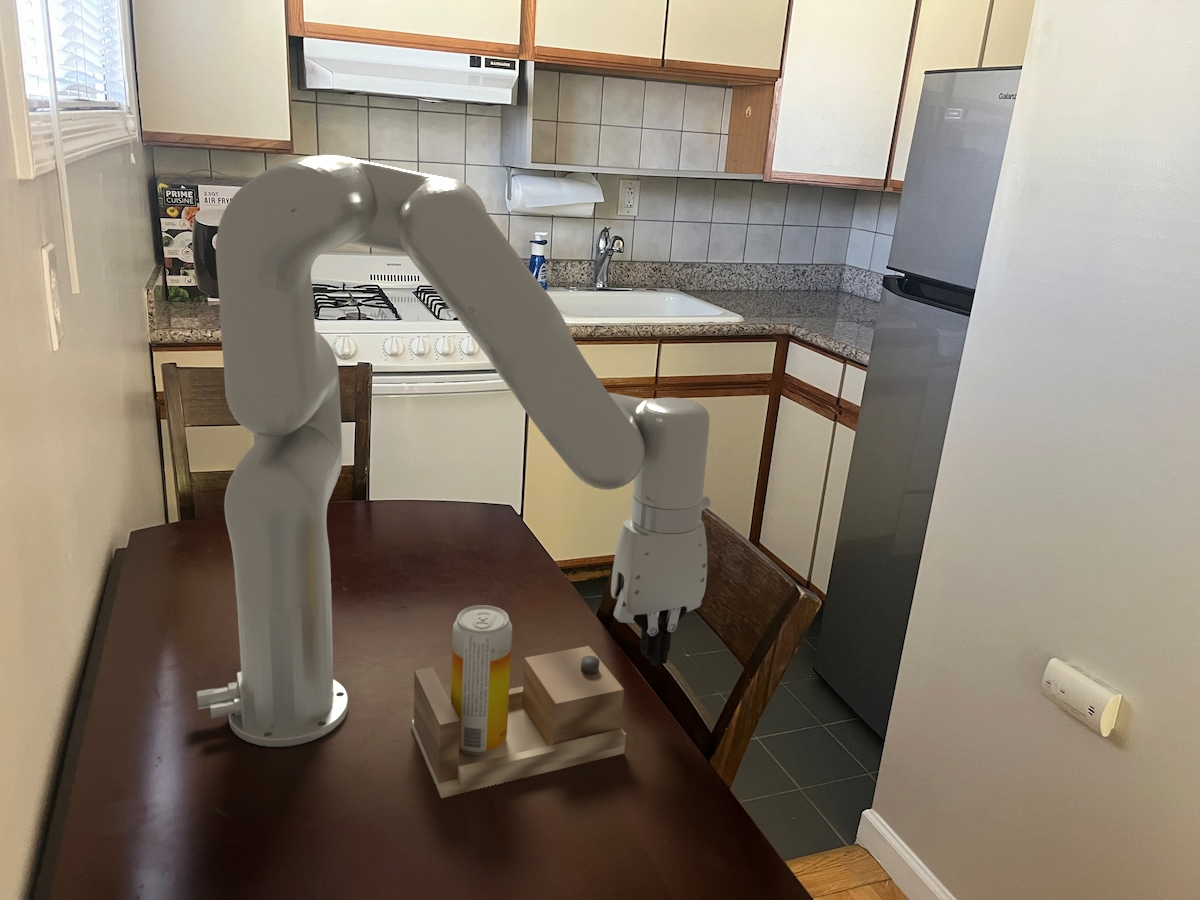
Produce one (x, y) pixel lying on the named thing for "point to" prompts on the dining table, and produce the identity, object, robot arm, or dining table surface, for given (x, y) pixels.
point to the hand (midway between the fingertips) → (654, 658)
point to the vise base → (511, 759)
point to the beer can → (481, 677)
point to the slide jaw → (571, 695)
